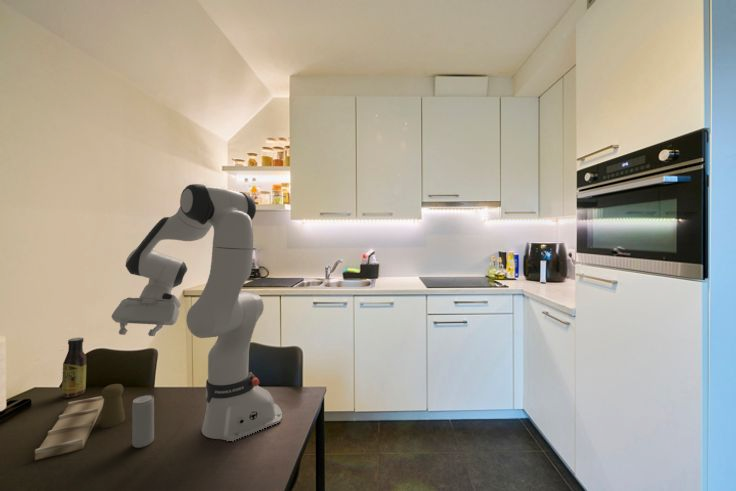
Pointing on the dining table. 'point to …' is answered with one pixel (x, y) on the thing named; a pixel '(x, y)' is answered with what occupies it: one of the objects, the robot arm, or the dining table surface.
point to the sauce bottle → (74, 369)
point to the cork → (112, 406)
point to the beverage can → (142, 421)
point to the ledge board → (71, 428)
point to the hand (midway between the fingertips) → (136, 334)
